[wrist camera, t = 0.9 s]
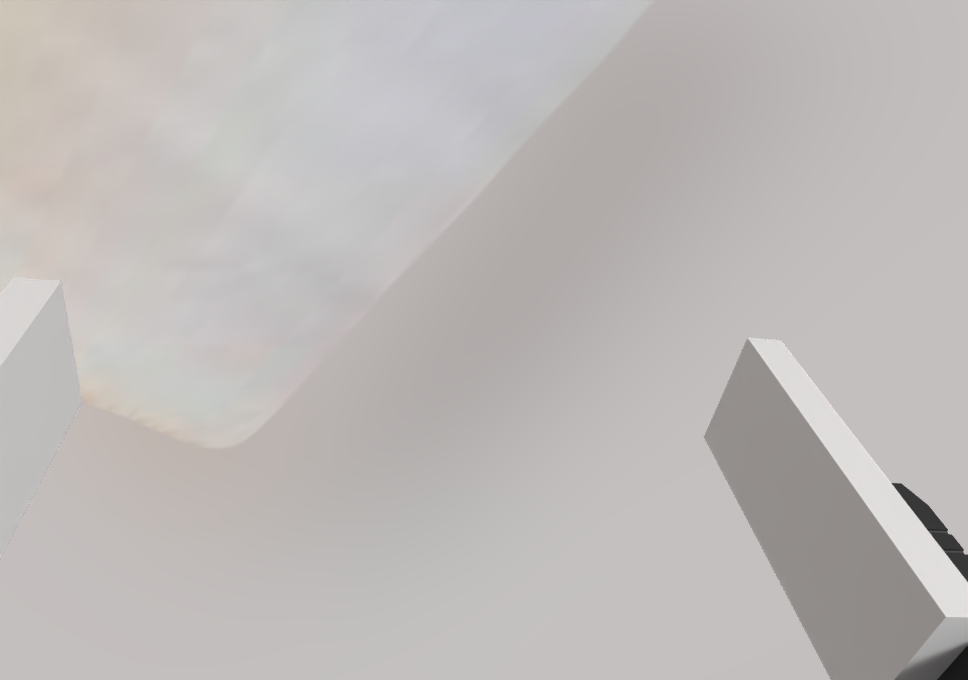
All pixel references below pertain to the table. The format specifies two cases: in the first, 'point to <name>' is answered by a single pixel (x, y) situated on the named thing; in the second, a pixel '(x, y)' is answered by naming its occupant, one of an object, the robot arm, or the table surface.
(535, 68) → the table surface
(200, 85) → the table surface
